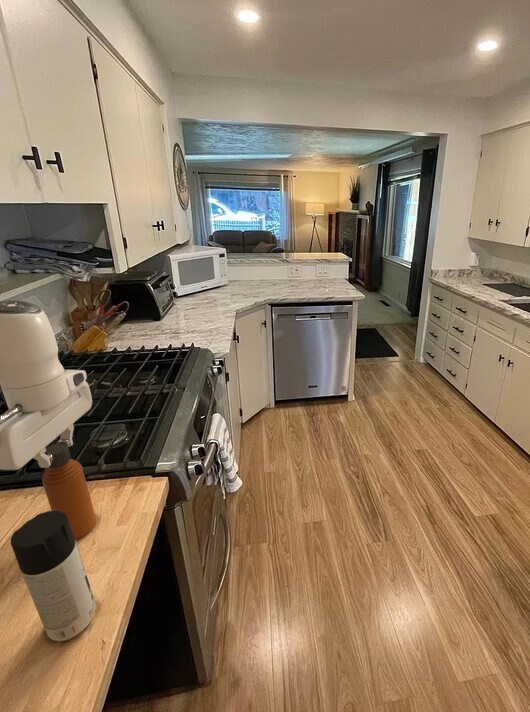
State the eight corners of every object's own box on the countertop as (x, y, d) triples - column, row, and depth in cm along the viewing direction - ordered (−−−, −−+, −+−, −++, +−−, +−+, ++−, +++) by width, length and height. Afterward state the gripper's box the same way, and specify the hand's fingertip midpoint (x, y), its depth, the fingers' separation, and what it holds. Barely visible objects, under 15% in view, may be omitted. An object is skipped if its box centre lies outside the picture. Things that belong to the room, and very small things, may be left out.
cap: (76, 454, 70) (72, 442, 69) (61, 468, 66) (58, 455, 65) (55, 454, 70) (52, 442, 69) (40, 467, 66) (36, 455, 65)
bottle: (52, 541, 71) (25, 462, 64) (72, 515, 77) (50, 441, 70) (84, 540, 71) (62, 462, 65) (102, 514, 77) (83, 440, 71)
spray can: (106, 606, 59) (79, 515, 53) (67, 651, 53) (30, 554, 47) (77, 593, 61) (47, 503, 55) (36, 634, 55) (-4, 539, 49)
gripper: (6, 425, 53) (31, 497, 58) (91, 367, 73) (104, 425, 77) (-36, 425, 53) (-7, 497, 58) (60, 367, 73) (76, 425, 77)
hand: (57, 455), depth 68 cm, fingers closed on cap, 4 cm apart
